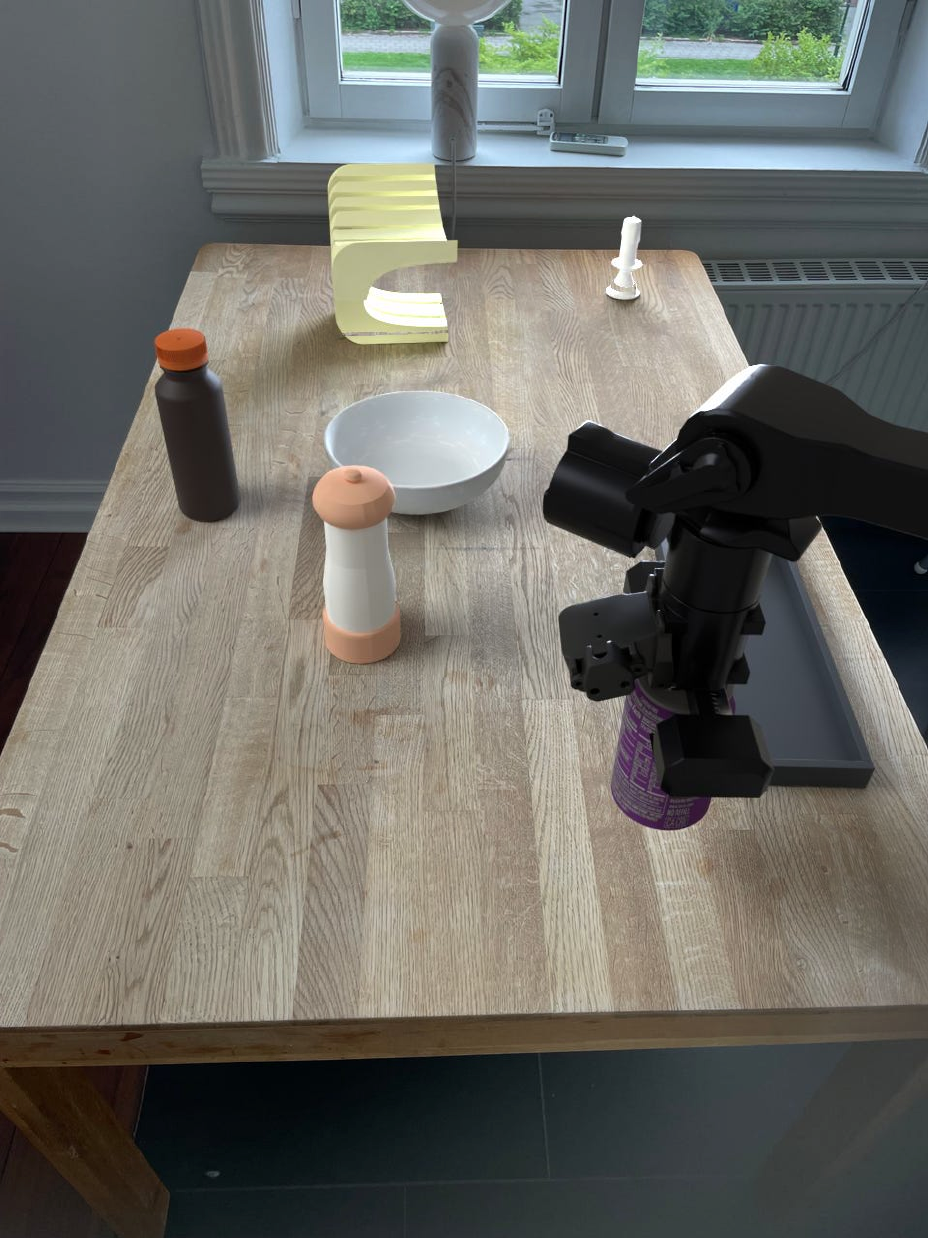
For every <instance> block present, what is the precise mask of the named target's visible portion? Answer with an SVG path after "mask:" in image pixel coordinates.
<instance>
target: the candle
mask: <svg viewBox="0 0 928 1238" xmlns="http://www.w3.org/2000/svg"><path fill="white" fill-rule="evenodd" d="M642 225H643V224H642V220H641V219H640V218H638V217H636V216H635V214H633V216H632V217H626V218H624V220H623V224H622V229H621V231H620V235H621V243H620V250H619V257H616V258H614V259H612V261H611V265H612V266H613V267H615V268H616V269H618V271H619V273H618V274H617V276H616V277H615V279H613V280H614V283H615V284H616V285H618V286H620V287H625V288H628V287H631V286H632V287H633V285H634V284H635V283H636V282H635V281H634V277H633V273H632V272H634V271H636V270H638V269H640V268H641V267H642V266H643V263H642V261H641V260H638V259H637V255H638V247H639V243H640V242H641V231H642ZM634 282H635V283H634ZM605 293H606V294H607V295H608V296H609V297H611V298H613V299H616V300H624V301H625V300H627V301H628V300H634V299H636V298H638V297H639V296H640V294H641V292H640V291H639V289H638V288H637V287H636V290H635V291H632V292H619V291H616V290H614V289H612V288H611V285H610V286H608V287H607V288H606V289H605Z"/></svg>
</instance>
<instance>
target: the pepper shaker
mask: <svg viewBox="0 0 928 1238" xmlns="http://www.w3.org/2000/svg"><path fill="white" fill-rule="evenodd" d="M395 499H396V497H395V493H394V489H393V487H392V484H391V483H390V482H389V481H388V479H387V478H386V477H385V476H384V475H383V474H382V473H381V472H379V471H377V470H376V469H373V468H370V467H366V466H357V465H353V466H343V467H340V468H336V469H333V470H331V469H330V470H329V471H327V472H326V473H324V475H322V476H321V478H320V479H319V480H318V481H317V483H316V485H315V487H314V490H313V493H312V498H311V500H312V506H313V508H314V510H315V512H316V513H317V514H318V516H319V518H321V520H322V521H323V524H324V525H323V526H324V538H325V549H326V550H325V558H324V570H323V577H322V586H323V593H324V601H325V604H324V606H323V609H322V621H323V632H324V641H325V647H326V648H327V650H328V651H329V652H330V654H331V655H333V656H334V657H336V658H337V659H338V660H341V661H343V662H346V663H349V664H357V665H358V664H359V665H363V664H373V663H377V662H378V661H382V660H384V659H386V658H387V657H389V656H391V655H392V654H393V653H394V652H395V651H396V649H397V648H398V647H399V645H400V642H401V635H402V633H401V632H402V630H401V609H400V606H399V602H397V600H396V599H397V596H396V595H397V592H396V590H397V582H396V576H395V572H394V568H393V564H392V560H391V555H390V550H389V536H388V535H389V533H388V516H390V514H391V513H392V512H391V511H392V508H393V505H394V502H395Z"/></svg>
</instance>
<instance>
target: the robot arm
mask: <svg viewBox="0 0 928 1238" xmlns="http://www.w3.org/2000/svg"><path fill="white" fill-rule="evenodd" d="M566 445H567V447H566V450H565V452H564V453H563V455H562V457H561V458H560V460H559V461H558V463H557V465H556V468H555V469H554V471H553V475H552V477H551V479H550V481H549V486H548V488H547V489H546V490H545V491H544V493H543V497H542V515H543V519H544V521H545V522H546V523H547V524H549V525H551V526H554V527H556V528H559V529H560V530H563V531H565V532H567V533H570V534H573V535H575V536H577V537H579V538H582V539H585V540H587V541H589V542H591V543H594V544H596V545H598V546H601V547H602V548H605V549H607V550H611V551H612V552H614V553H617V554H619V555H622V556H624V557H627V558H629V559H636V558H637V556H638V555H639V554H640V553H641V552H642V551H643V550H644V549H645V547H647V548H649V549H652V550H654V549H655V548H657V547H658V546H660V545H661V543H662V542H663V541H664V539H665V538H666V536H667V535H668V533H669V531H670V529H671V527H672V525H673V527H672V532H671V537H670V542H669V547H668V552H667V557H666V561H657V560H640V561H639V562H637V563H636V564H634V565H632V566H631V567H630V568H628V569H627V570H626V571H625V576H624V582H623V587H622V593H616V594H612V595H611V594H610V595H607V596H603V597H599V598H595V599H591V600H588V601H583V602H578V603H575V604H571V605H569V606H567V607H565V608H564V609H562V610H561V612H560V613H559V615H558V619H557V621H558V630H559V641H560V649H561V654H562V657H563V659H564V662H565V664H566V667H567V669H568V672H569V681H570V687H571V688H572V689H573V690H576V691H579V692H582V693H585V694H586V697H587V699H588V700H590V701H593V702H596V703H599V702H603V701H608V700H613V699H617V698H623V697H626V695H630V694H631V693H632V692H633V691H634V690H635V689H636V685H635V679H638V678H640V677H642V676H644V675H645V674H646V673H647V672H649V674H648V682H649V687H650V689H669V690H672V691H681V690H685V692H686V697H687V701H688V705H689V710H690V714H673V715H672V716H670V717H668V718H666V719H665V720H663V721H661V722H659V723H658V724H656V727H655V732H654V733H649V736H650V742H651V747H652V753H653V758H654V763H655V766H656V771H657V777H658V782H659V787H660V790H662V791H663V792H665V793H666V794H668V795H669V796H670V798H672V799H685V798H687V797H712V798H717V799H718V798H719V799H720V798H721V799H724V798H725V799H733V798H734V799H760V798H761V797H762V796H763V795H764V794H765V793H766V792H767V791H768V788H769V786H768V785H769V783H770V780H771V777H772V775H773V772H774V768H773V765H772V762H771V758H770V755H769V752H768V748H767V745H766V742H765V738H764V735H763V732H762V728H761V726H760V725H759V724H758V723H757V722H756V721H755V720H754V719H752V718H751V717H750V716H749V715H733V714H732V710H731V707H730V703H729V699H728V696H727V692H726V689H725V684H745V685H747V682H748V679H749V676H750V670H749V667H748V663H747V660H746V657H745V654H744V650H745V647H746V643H747V640H748V637H749V635H762V634H763V631H764V628H765V624H766V621H765V618H764V615H763V612H762V609H761V606H760V603H759V600H760V596H761V593H762V590H763V586H764V583H765V579H766V576H767V573H768V569H769V566H770V563H771V559H772V556H773V555H776V556H778V557H781V558H784V559H786V560H789V561H791V562H796V563H797V562H798V561H799V560H800V559H801V558H802V556H803V555H804V554H805V553H806V551H807V550H808V549H809V547H810V546H811V544H812V543H813V542H814V540H816V538H817V537H818V535H819V534H820V532H821V531H822V529H823V524H822V522H821V521H820V520H819V519H818V517H824V516H825V517H827V516H832V517H839V518H848V519H853V520H858V521H861V522H864V523H865V522H866V523H868V524H872V525H875V526H879V527H882V528H886V529H889V530H892V531H896V532H900V533H904V534H907V535H910V536H913V537H917V538H921V539H924V540H927V541H928V432H927V431H923V430H919V429H914V428H911V427H905V426H902V425H897V424H894V423H892V422H889V421H886V420H884V419H882V418H879V417H877V416H874V415H872V414H871V413H868V412H867V411H866V410H865V409H863V407H861V406H860V405H859V404H857V403H856V402H855V401H854V400H852V399H851V398H850V397H849V396H847V394H845V393H844V392H843V391H842V390H841V389H838V388H836V387H834V386H831V385H829V384H826V383H824V382H821V381H819V380H817V379H814V378H811V377H809V376H807V375H804V374H802V373H800V372H797V371H794V370H792V369H789V368H787V367H785V366H780V365H774V364H757V365H752V366H751V365H750V366H749V367H748V368H746V369H743V370H742V371H741V372H739V373H737V374H736V375H735V376H733V377H731V378H730V379H729V380H728V381H727V382H726V383H724V385H723V386H721V387H720V388H719V389H718V390H717V391H716V392H715V393H714V394H713V395H712V396H710V397H709V398H708V399H707V400H706V401H705V402H704V403H703V404H702V405H701V406H700V407H698V409H697V410H695V412H693V413H692V414H691V415H690V416H689V417H688V418H687V419H686V420H685V421H684V423H683V425H682V426H681V427H680V429H679V430H678V434H677V437H676V438H675V440H673V442H671V443H670V444H669V445H668V446H667V447H666V448H665V449H664V450H661V449H658V448H655V447H653V446H650V445H647V444H645V443H642V442H640V441H636V440H634V439H632V438H628V437H625V436H623V435H621V434H618V433H616V432H614V431H613V430H611V429H609V428H608V427H606V426H604V425H603V424H599V423H597V422H593V421H592V420H586V421H584V422H583V423H582V424H580V425H579V426H578V427H577V428H575V429H574V430H573V431H572V432H571V433H569V434H568V436H567V444H566ZM712 798H711V799H712Z"/></svg>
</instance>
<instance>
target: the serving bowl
mask: <svg viewBox="0 0 928 1238" xmlns="http://www.w3.org/2000/svg"><path fill="white" fill-rule="evenodd" d="M510 441H511V440H510V432H509V430H508V427H507V425H506V424H505V422H504V420H503V419H502V418H501V417H500V416H499V415H498V414H497V413H496V412H495V411H493V410H492V409H491V408H489V407H488V406H486V405H484V404H482V403H480V402H478V401H476V400H473V399H470V398H467V397H464V396H461V395H457V394H453V393H448V392H441V391H431V390H403V391H394V392H393V391H392V392H387V393H381V394H377V395H372V396H370V397H366V398H363V399H360V400H358V401H356V402H354V403H352V404H350V405H348V406H347V407H345V408H343V409H342V410H340V411H338V413H337V414H335V415H334V416H333V418H331V419H330V421H328V423H327V425H326V427H325V429H324V432H323V439H322V442H323V450H324V452H325V456H326V460H327V462H328V463H327V464H328V466H329V468H330V471H331V470H333V469H336V468H340V467H343V466H353V465H357V466H366V467H370V468H373V469H376V470H377V471H379V472H381V473H382V474H383V475H384V476H385V477H386V478H387V479H388V481H389V482H390V483H391V484H392V487H393V489H394V493H395V497H396V499H395V502H394V505H393V508H392V511H391V513H394V514H400V515H401V514H403V515H431V514H439V513H443V512H447V511H448V512H449V511H451V510H455V509H457V508H460V507H463V506H465V505H466V504H469V503H471V502H472V501H474V500H476V499H477V498H478V497H480V496H482V495H483V494H484V493H486V491H487V490H488V489H490V487H491V486H492V485H493V484H494V483H495V482H496V481H497V479H498V477H499V476H500V474H501V472H502V471H503V469H504V467H505V464H506V460H507V457H508V454H509V448H510V443H511V442H510Z"/></svg>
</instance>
